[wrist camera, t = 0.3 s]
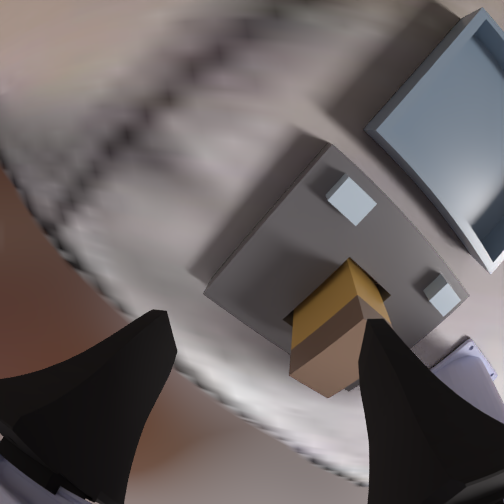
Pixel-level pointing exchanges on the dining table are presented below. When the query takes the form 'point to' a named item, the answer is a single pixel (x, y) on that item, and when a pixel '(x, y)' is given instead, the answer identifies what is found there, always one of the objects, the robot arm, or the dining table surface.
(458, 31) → the parts tray
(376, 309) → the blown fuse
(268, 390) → the dining table surface
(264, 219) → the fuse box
